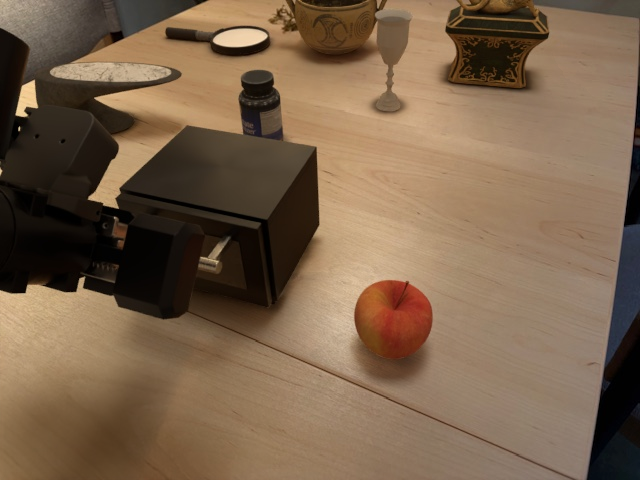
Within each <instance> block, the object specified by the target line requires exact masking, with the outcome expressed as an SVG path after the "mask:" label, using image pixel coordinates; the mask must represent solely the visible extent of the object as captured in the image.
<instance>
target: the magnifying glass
mask: <svg viewBox="0 0 640 480" xmlns="http://www.w3.org/2000/svg"><path fill="white" fill-rule="evenodd" d="M164 31H165V32H164V33H165V36H166V37H167V38H170V39H177V40H178V39H180V40H190V41H207V42H210V46H211V48H212V50H213V51H215V52H217V53H219V54H223V55H229V56H230V55H231V56H241V55H250V54H253V53H258V52H259V51H262V50H264V49H265V48H267V47H268V46H269V45H270V43H271V38H270V37H271V36H270V32H269V31H268V30H267V29H265V28H263V27H261V26H256V25H233V26H229V27H225V28H223V27H222V28H220V29H217V30H215V31H204V30H198V29H192V28H182V27H172V26H171V27H170V26H168V27H167V26H166V28H165V30H164Z"/></svg>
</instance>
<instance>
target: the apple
mask: <svg viewBox="0 0 640 480" xmlns="http://www.w3.org/2000/svg"><path fill="white" fill-rule="evenodd" d="M433 319H434V314H433V307H432V305H431V302H430V300H429V299H428V297H427V296H426V295H425V293H424V292H422V291H421V290H420V289H419V288H418V287H416V286H415V285H413V284H411V283H410V281H409V280H405V281H402V280H397V279H385V280H379V281H376V282H374V283H372V284H370V285H368V286H367V287H366V288H365V289H363V291H362V292H361V293H360V295H359V296H358V298H357V300H356V303H355V307H354V313H353V321H354V326H355V330H356V333H357V336H358V337H359V340H361V342H362V343H363V345H364V346H365V347H366V348H367V350H369V351H370V352H372V353H373V354H374V355H377V356H379V357H381V358H384V359H388V360H399V359H404V358H406V357H409V356H411V355H413V354H414V353H416V352H417V351H418V350H419V349H421V347H423V346H424V344H425V343H426V341H427V340H428V338H429V336H430V334H431V332H432V328H433V321H434V320H433Z"/></svg>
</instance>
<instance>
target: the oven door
mask: <svg viewBox="0 0 640 480" xmlns="http://www.w3.org/2000/svg"><path fill="white" fill-rule="evenodd" d="M114 199H115V202H116V205H117V208H118V209H122V210H127V211H130V212H132V213H133V214H134V215H135V217H136V216H137V215H138V214H139V213H140V212H141V213H146V214H150V215H155V216H159V217H164V218H168V219H173V220H177V221H182V222H186V223H191V224H195V225H200V227H201V229H202V231H203V232H204V234H205V239H204V243H203V248H202V252H201V256H200V261H199V265H198V270H197V274H196V278H195V283H194V287H193V290H198V291H201V292H205V293H210V294H213V295H217V296H221V297H225V298H229V299H233V300H236V301H240V302H244V303H247V304H252V305H256V306H259V307H263V308H267V309H269V308H270V307H271V305H272V304H271V303H272V296H271V288H270V281H269V274H268V266H267V259H266V251H265V244H264V236H263V229H262V223H259V222H254V221H250V220H245V219H240V218H236V217H231V216H226V215H222V214H217V213H212V212H208V211H203V210H199V209H194V208H189V207H185V206H180V205H175V204H171V203H166V202H161V201H157V200H152V199H147V198H143V197H138V196H133V195H129V194H124V193H120V192H119V194H118V195H117V196H116V197H115V198H114Z"/></svg>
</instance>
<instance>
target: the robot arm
mask: <svg viewBox="0 0 640 480" xmlns="http://www.w3.org/2000/svg"><path fill="white" fill-rule="evenodd" d="M30 52H31V48H30V46H29V44H27V42H25V41H24V40H23V39H21V38H20V37H18V36H17V35H15V34H13V33H11V32H10V31H8V30H7V29H5V28H2V27H0V171H1V173H0V291H1V292H4V293H7V294H11V295H12V294H14V295H15V294H16V295H19V294H27V289H28V286H41V287H45V288H48V289H51V290H55V291H58V292H62V293H77V292H78V287H79V283H80V279H82V278H84V280H83V285H82V289H84V290H87V291H91V292H95V293H98V294H101V295H105V296H109V297H113V298H114V300H115V303H116V304H117V307H118V308H121V309H125V310H129V311H132V312H135V313H139V314H142V315H146V316H149V317H153V318H156V319H160V320H170V319H179V318H180V317H182V316H184V315H185V314H186V313H188V312H189V309H190V305H191V301H192V300H191V299H192V296H193V293H194V292H193V291H194V288H193V287H194V283H195V278H196V274H197V270H198V265H199V261H200V256H201V252H202V248H203V243H204V239H205V234H204V232H203V231H202V229H201V227H200V225H195V224H191V223H186V222H182V221H177V220H173V219H168V218H164V217H159V216H155V215H150V214H146V213H141V212H140V213H139V214H138V215H137V216H136V217H135V215H134V214H133V213H132V212H130V211H127V210H122V209H119V208H118V207H113V206H109V205H105V204H104V202H102V201H97V200H92V199H89V197H91V196H92V195H93V194H95V192H96V191H97V190H98V188H99V186H100V184H101V182H102V180H103V178H104V176H105V174H106V172H107V170H108V168H109V167H110V164H111V163H112V161H113V160H115V159H116V158H117V156H118V154H119V152H120V151H119V150H120V145H119V143H118V141H117V140H116V139H115V138H114V136H113V135H111V133H110V134H109V132H108V131H107V130H106V129H105V128H104V127H103V126H102V125H101V124H100V122H99V121H98V120H97V119H96V118H95V117H94V116H93V115H92V114H91V113H90V112H88V111H83V110H77V109H71V108H65V107H59V106H53V105H43V106H40V107H38V106H37V107H31V106H25V108H24V110H23V113H25V114H26V116H25V115H24V116H21V115H17V112H18V111H17V110H18V107H19V101H20V98H21V93H22V89H23V84H24V80H25V74H26V71H27V65H28V62H29V57H30V54H31V53H30Z"/></svg>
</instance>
